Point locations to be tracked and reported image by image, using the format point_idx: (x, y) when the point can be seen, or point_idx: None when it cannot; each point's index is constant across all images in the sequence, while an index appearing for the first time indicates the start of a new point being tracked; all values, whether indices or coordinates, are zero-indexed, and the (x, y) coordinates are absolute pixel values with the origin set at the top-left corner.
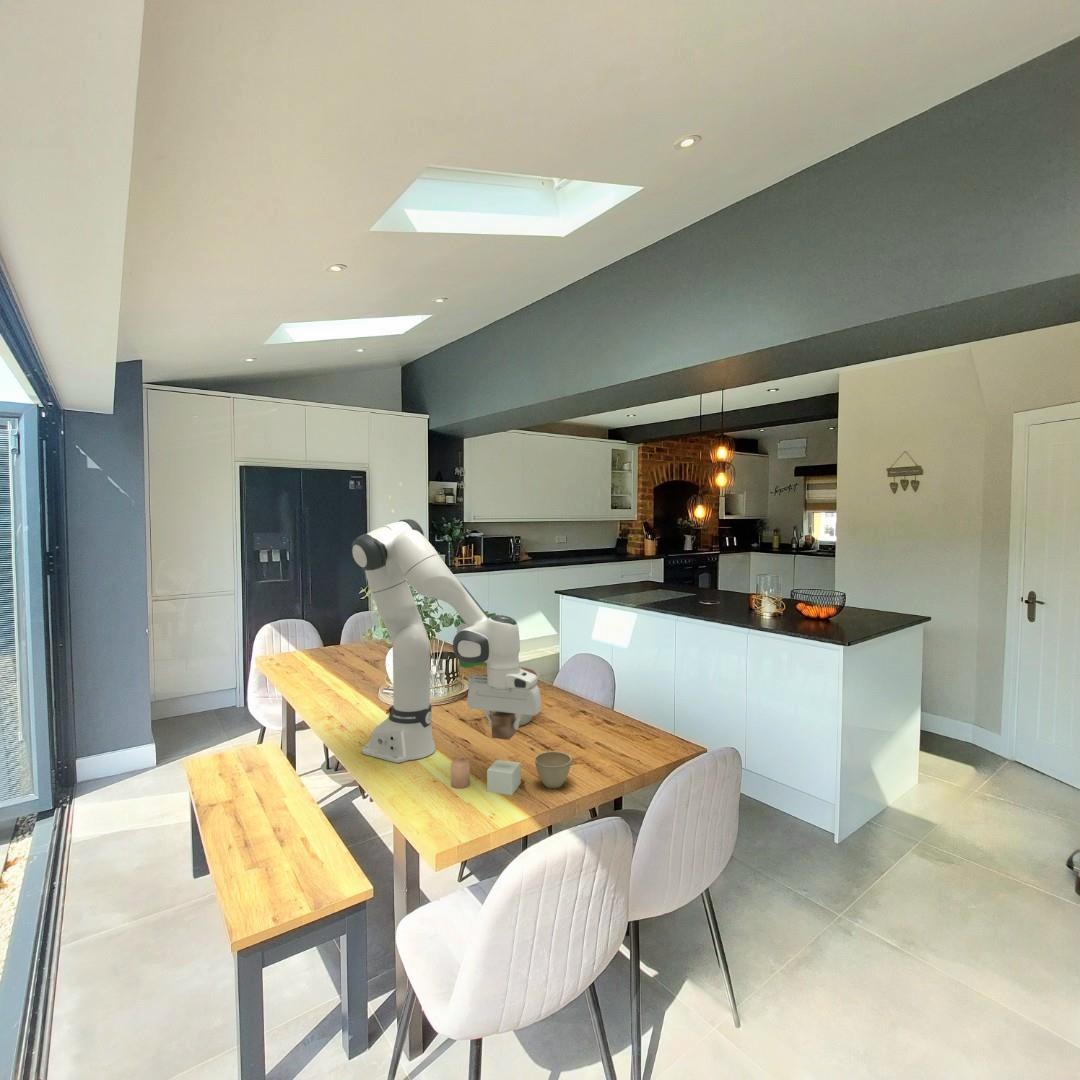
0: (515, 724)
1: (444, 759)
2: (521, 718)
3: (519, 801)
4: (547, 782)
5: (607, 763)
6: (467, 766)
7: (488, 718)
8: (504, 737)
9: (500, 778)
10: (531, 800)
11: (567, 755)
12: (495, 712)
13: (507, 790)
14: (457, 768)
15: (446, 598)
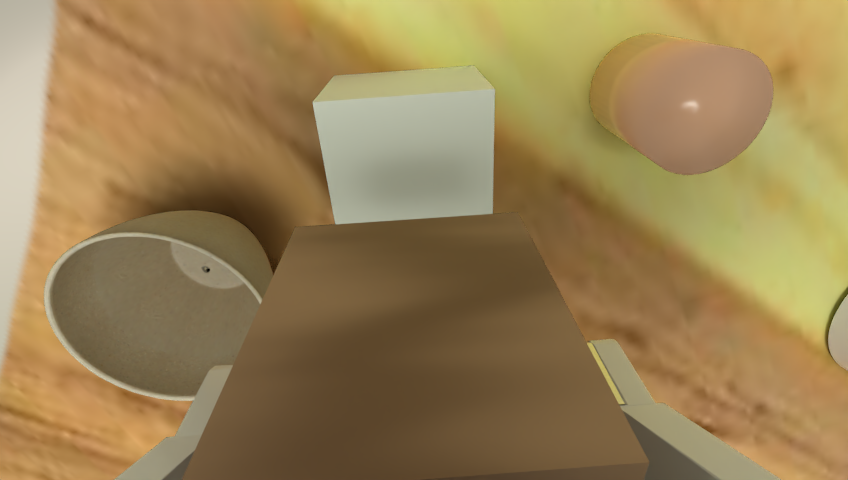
0: (198, 419)
1: (771, 283)
2: None
3: (262, 24)
4: (196, 210)
5: (139, 444)
6: (646, 101)
7: (681, 428)
8: (353, 232)
9: (397, 87)
10: (212, 61)
11: (127, 383)
12: None
13: (356, 77)
14: (710, 47)
15: None
